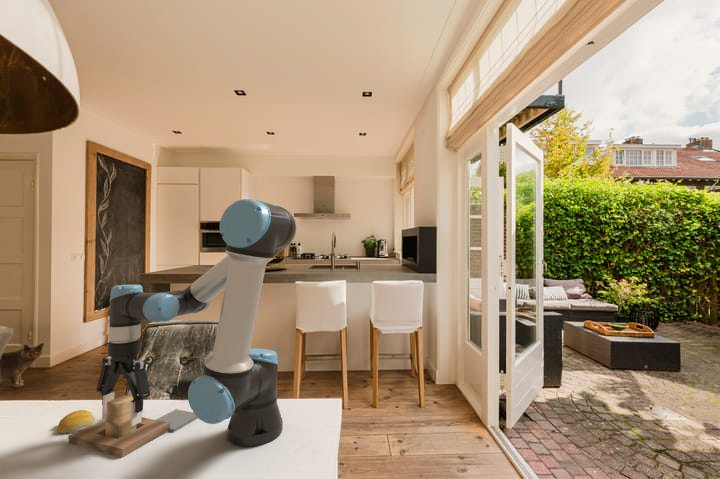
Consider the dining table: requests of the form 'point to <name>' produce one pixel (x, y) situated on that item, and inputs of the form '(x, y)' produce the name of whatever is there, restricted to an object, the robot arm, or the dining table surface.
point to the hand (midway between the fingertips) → (121, 420)
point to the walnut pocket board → (122, 446)
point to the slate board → (178, 419)
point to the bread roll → (76, 421)
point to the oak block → (119, 417)
